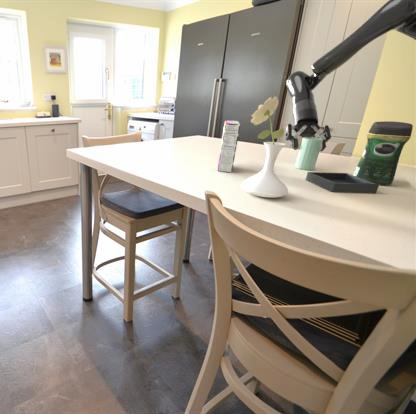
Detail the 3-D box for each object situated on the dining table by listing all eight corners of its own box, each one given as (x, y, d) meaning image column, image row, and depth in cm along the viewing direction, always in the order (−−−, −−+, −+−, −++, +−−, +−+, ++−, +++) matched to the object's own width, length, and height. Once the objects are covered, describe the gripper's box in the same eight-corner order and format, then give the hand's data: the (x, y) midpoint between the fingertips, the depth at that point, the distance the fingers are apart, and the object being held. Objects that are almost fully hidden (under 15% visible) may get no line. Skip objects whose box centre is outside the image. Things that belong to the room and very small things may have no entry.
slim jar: (307, 166, 109) (315, 137, 104) (317, 170, 103) (327, 139, 99) (291, 166, 109) (299, 137, 105) (300, 170, 103) (309, 139, 99)
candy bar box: (217, 164, 109) (224, 120, 103) (231, 165, 107) (239, 120, 101) (216, 171, 99) (225, 123, 93) (232, 173, 98) (241, 123, 91)
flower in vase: (266, 186, 84) (288, 96, 74) (296, 200, 73) (327, 97, 64) (226, 188, 82) (243, 95, 72) (251, 202, 71) (276, 96, 62)
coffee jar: (389, 181, 91) (414, 121, 84) (392, 187, 85) (419, 123, 78) (350, 176, 97) (371, 119, 90) (351, 181, 91) (373, 121, 84)
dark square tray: (343, 180, 91) (346, 173, 90) (375, 193, 80) (379, 184, 79) (305, 179, 92) (307, 171, 91) (331, 192, 80) (334, 183, 79)
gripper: (288, 107, 108) (292, 142, 102) (331, 108, 105) (337, 144, 99) (280, 120, 115) (283, 154, 109) (320, 121, 112) (325, 156, 106)
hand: (309, 149), depth 104 cm, fingers open, 8 cm apart
